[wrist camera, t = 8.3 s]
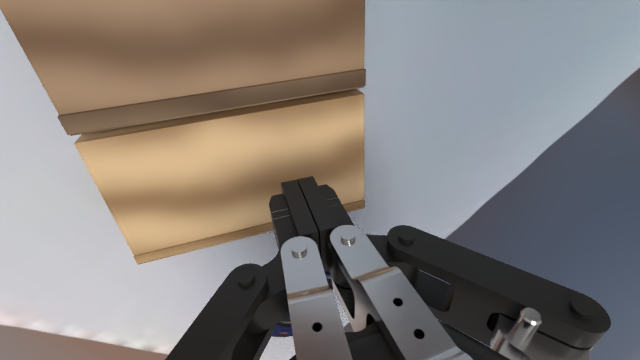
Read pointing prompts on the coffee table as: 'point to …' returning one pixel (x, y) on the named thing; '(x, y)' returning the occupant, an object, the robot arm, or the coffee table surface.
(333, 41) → the floor board
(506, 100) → the coffee table surface
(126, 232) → the plank
